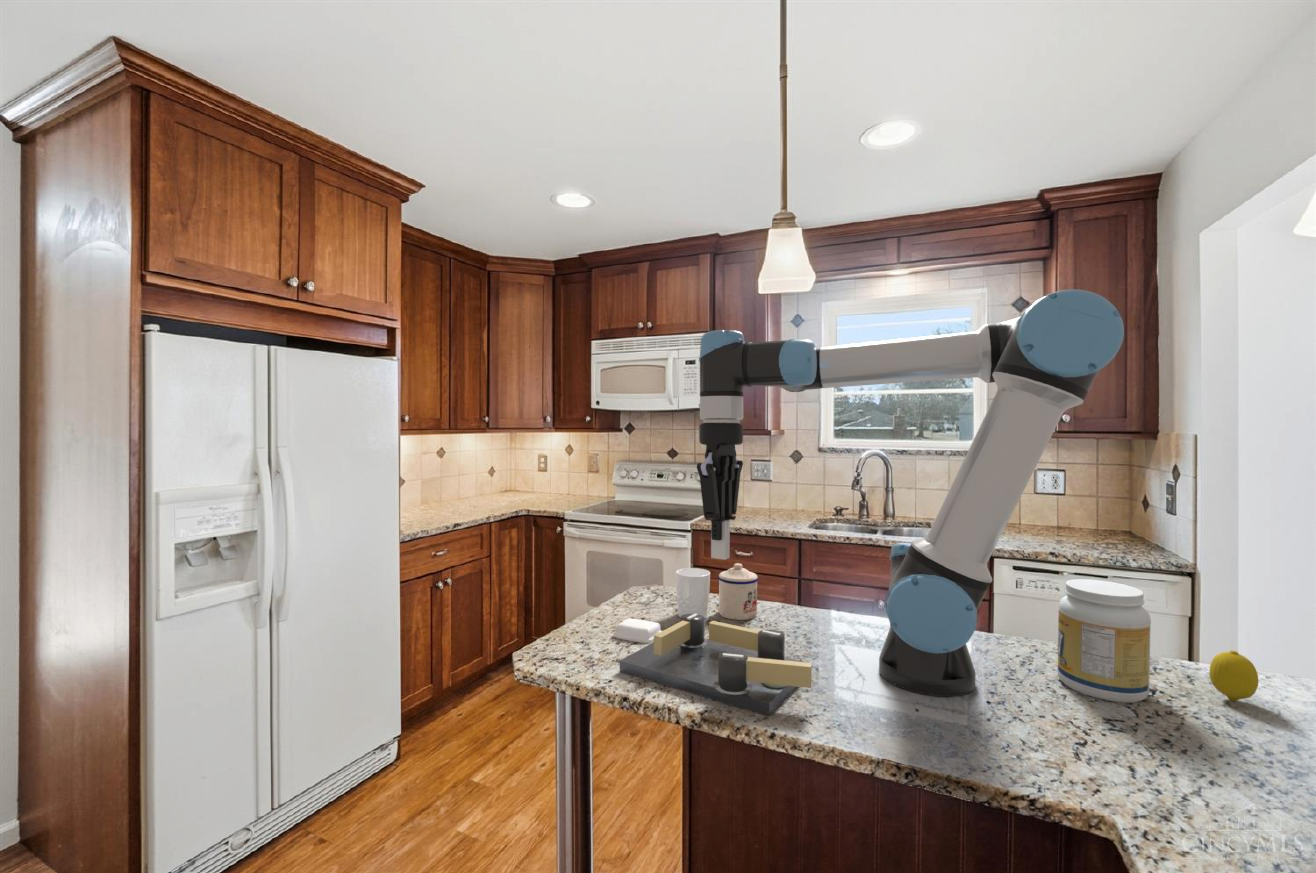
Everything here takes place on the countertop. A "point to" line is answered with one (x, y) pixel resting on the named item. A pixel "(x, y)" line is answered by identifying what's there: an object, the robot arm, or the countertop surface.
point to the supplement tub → (1104, 640)
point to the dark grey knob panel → (703, 675)
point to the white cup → (692, 591)
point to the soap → (637, 630)
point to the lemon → (1233, 675)
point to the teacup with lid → (738, 593)
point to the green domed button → (774, 685)
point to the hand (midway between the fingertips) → (720, 557)
